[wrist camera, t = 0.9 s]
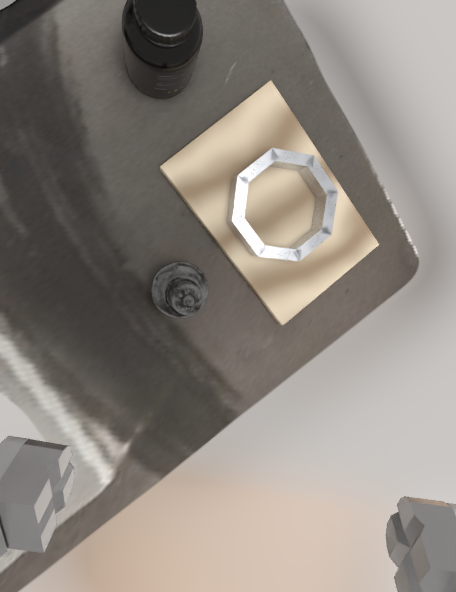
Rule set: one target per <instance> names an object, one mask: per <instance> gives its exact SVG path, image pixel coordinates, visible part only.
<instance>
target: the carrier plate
mask: <svg viewBox="0 0 456 592" xmlns="http://www.w3.org/2000/svg"><path fill="white" fill-rule="evenodd" d="M271 148H276V149H282V150H287V151H293V152H299V153H304V154H310V155H314V156H315V157H316V159H317V160H318V162H319V163H320V165H321V166H322V168H323V169H324V171H325V173H326V174H327V176H328V177H329V179H330V180H331V182H332V183H333V185H334V186H335V188H336V189H337V191H338V195H337V202H336V209H335V216H334V223H333V230H332V235H331V236H330V237H328V238H327V239H326V240H325V241H324V242H322V243H321V244H320V245H319V246H318V247H316V248H315V249H314V250H313V251H311V252H310V253H309V254H308V255H307V256H305V257H304V258H303V259H302V260H301V261H292V260H284V259H276V258H267V257H257V256H251V255H250V253H249V252H248V251H247V249H246V248H245V247H244V245H243V244H242V243H241V241H240V240H239V239H238V237H237V236H236V235H235V233H234V232H233V231H232V229H231V228H230V227H229V225H228V224H227V223H226V220H227V212H228V203H229V195H230V186H231V179H233V178H234V177H235V176H236V175H238V174H239V173H240V172H241V171H243V170H244V169H245V168H246V167H248V166H249V165H250V164H252V163H253V162H254V161H255V160H257V159H258V158H259V157H260V156H262V155H263V154H264V153H265V152H267V151H268V150H270V149H271ZM160 170H161V172H162V173H163V174H164V175H165V177H166V178H167V179H168V181H169V182H170V183H171V185H172V186H173V187H174V188H175V190H176V191H177V192H178V194H179V195H180V196H181V197H182V199H183V200H184V201H185V203H186V204H187V205H188V207H189V208H190V209H191V210H192V212H193V213H194V214H195V216H196V217H197V218H198V220H199V221H200V222H201V223H202V225H203V226H204V227H205V229H206V230H207V231H208V233H209V234H210V235H211V236H212V238H213V239H214V240H215V242H216V243H217V244H218V245H219V247H220V248H221V249H222V251H223V252H224V253H225V255H226V256H227V257H228V258H229V260H230V261H231V262H232V264H233V265H234V266H235V268H236V269H237V270H238V271H239V273H240V274H241V275H242V277H243V278H244V279H245V280H246V282H247V283H248V284H249V286H250V287H251V288H252V290H253V291H254V292H255V293H256V295H257V296H258V297H259V299H260V300H261V301H262V303H263V304H264V305H265V306H266V308H267V309H268V310H269V312H270V313H271V314H272V316H273V317H274V318H275V319H276V321H277V322H278V323H279V324H281V325H282V326H283V325H284V324H285V323H286V322H288V321H289V320H290V319H291V318H292V317H294V316H295V315H296V314H297V313H298V312H299V311H301V310H302V309H303V308H304V307H305V306H307V305H308V304H309V303H310V302H311V301H313V300H314V299H315V298H316V297H317V296H319V295H320V294H321V293H322V292H323V291H324V290H326V289H327V288H328V287H329V286H330V285H332V284H333V283H334V282H335V281H336V280H338V279H339V278H340V277H341V276H342V275H343V274H345V273H346V272H347V271H348V270H349V269H351V268H352V267H353V266H354V265H355V264H357V263H358V262H359V261H360V260H361V259H362V258H364V257H365V256H366V255H367V254H368V253H370V252H371V251H372V250H373V249H374V248H376V247H377V246H378V245H379V244H378V242H377V241H376V239H375V238H374V236H373V235H372V233H371V231H370V230H369V228H368V227H367V225H366V224H365V222H364V221H363V219H362V218H361V216H360V215H359V213H358V212H357V210H356V209H355V207H354V206H353V204H352V203H351V201H350V200H349V198H348V197H347V195H346V193H345V192H344V190H343V189H342V187H341V186H340V184H339V183H338V181H337V180H336V178H335V177H334V175H333V174H332V172H331V171H330V169H329V168H328V166H327V165H326V163H325V162H324V160H323V158H322V157H321V155H320V154H319V152H318V151H317V149H316V148H315V146H314V145H313V143H312V142H311V140H310V139H309V137H308V136H307V134H306V133H305V131H304V130H303V128H302V127H301V125H300V124H299V122H298V120H297V119H296V117H295V116H294V114H293V113H292V111H291V110H290V108H289V107H288V105H287V104H286V102H285V101H284V99H283V98H282V96H281V95H280V93H279V92H278V90H277V89H276V87H275V86H274V84H273V82H272V81H269V82H268V83H267V84H265V85H264V86H263V87H262V88H260V89H259V90H258V91H256V92H255V93H254V94H253V95H251V96H250V97H249V98H247V99H246V100H245V101H244V102H242V103H241V104H240V105H238V106H237V107H236V108H235V109H233V110H232V111H231V112H229V113H228V114H227V115H226V116H224V117H223V118H222V119H220V120H219V121H218V122H217V123H215V124H214V125H213V126H211V127H210V128H209V129H208V130H206V131H205V132H204V133H202V134H201V135H200V136H199V137H197V138H196V139H195V140H193V141H192V142H191V143H190V144H188V145H187V146H186V147H184V148H183V149H182V150H181V151H179V152H178V153H177V154H176V155H174V156H173V157H172V158H170V159H169V160H168V161H167V162H165V163H164V164H163V165H161V166H160ZM314 203H315V196H314V195H313V193H312V192H311V190H310V189H309V187H308V186H307V184H306V183H305V182H304V180H303V179H302V177H301V176H300V174H299V173H298V171H294V170H288V169H282V168H276V167H270V166H268V167H267V168H266V169H264V170H263V171H262V172H261V173H259V174H258V175H257V176H256V177H254V178H253V179H252V180H251V181H249V182H248V191H247V199H246V207H245V216H244V218H245V220H246V221H247V222H248V224H249V225H250V226H251V228H252V229H253V230H254V232H255V233H256V234H257V236H258V237H259V239H260V240H261V241H262V243H263V244H264V245H265V246H273V247H281V248H289V247H290V246H291V245H292V244H294V243H295V242H296V241H297V240H298V239H300V238H301V237H302V236H303V235H305V234H306V233H307V232H308V231H309V230H311V225H312V218H313V210H314Z"/></svg>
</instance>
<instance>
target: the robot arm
mask: <svg viewBox="0 0 456 592" xmlns="http://www.w3.org/2000/svg"><path fill="white" fill-rule="evenodd" d="M14 1H16V0H0V10H1V9H3V8H5V7H7V6H9V5H10V4H12V3H13V2H14ZM71 457H72V449H71V446H67V445H61V444H55V443H49V442H43V441H37V440H31V439H26V438H20V437H13V436H8V437H7V438H6V439H4V440H3V441H2V442H1V443H0V557H1V556H2V555H3V554H4V553H5V552H7V548H10V549H18V550H26V551H34V552H41V553H44V552H45V549H46V547H47V545H48V543H49V541H50V539H51V536H52V534H53V532H54V530H55V528H56V526H57V521H56V515H55V514H56V513H57V512H59V511H60V510H61V509H63V508H64V507H65V506H66V503H67V501H68V499H69V497H70V494H71V490H72V487H73V483H74V474H75V473H74V467H73V466H72V464H71V463H70V462H69V461H70V459H71ZM397 507H398V511H399V512H397V513H395V514H393V515H392V516H391V517H390V519H389V521H388V523H387V529H386V542H387V549H388V553H389V557H390V558H391V560H392V561H393V562H394V563H395V565H396V566H397V567H398V570H397V572H396V574H395V576H394V579H395V583H396V587H397V591H398V592H456V504H451V503H445V502H442V501H435V500H427V499H420V498H412V497H402V498H401V499H400V500H399V502H398V504H397Z"/></svg>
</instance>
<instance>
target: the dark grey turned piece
mask: <svg viewBox="0 0 456 592" xmlns="http://www.w3.org/2000/svg"><path fill="white" fill-rule="evenodd" d="M151 294H152V298H153V301H154V303H155V305H156V307H157V308H158V309H159V310H160V311H161V312H162V313H164V314H166V315H167V316H169V317H173V318H186V317H190V316H192V315H194V314H195V313H197V312H198V311H199V310H200V309H201V308H202V307H203V305H204V304H205V302H206V299H207V296H208V284H207V280H206V278H205V276H204V274H203V273H202V272H201V271H200V270H199V269H198V268H197V267H195V266H194V265H192V264H189V263H186V262H175V263H171V264H168V265H166V266H165V267H163V268H162V269H161V270H160V271H159V272H158V273H157V274H156V276H155V277H154V279H153V283H152V286H151Z"/></svg>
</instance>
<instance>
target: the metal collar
mask: <svg viewBox="0 0 456 592" xmlns="http://www.w3.org/2000/svg"><path fill="white" fill-rule="evenodd" d="M268 166H270V167H276V168H282V169H288V170H294V171H298V173H299V174H300V176H301V177H302V179H303V180H304V182H305V183H306V184H307V186H308V187H309V189H310V190H311V192H312V193H313V195H314V196H315V203H314V210H313V218H312V225H311V230H309V231H308V232H307V233H306V234H305V235H303V236H302V237H301V238H300V239H298V240H297V241H296V242H295V243H294V244H292V245H291V246H290V247H289V248H281V247H273V246H265V245H264V244H263V243H262V241H261V240H260V239H259V237H258V236H257V234H256V233H255V232H254V230H253V229H252V228H251V226H250V225H249V224H248V222H247V221H246V220H245V218H244V216H245V207H246V199H247V191H248V182H249V181H251V180H252V179H253V178H254V177H256V176H257V175H258V174H259V173H261V172H262V171H263V170H264V169H266V168H267V167H268ZM337 195H338V191H337V189H336V188H335V186H334V185H333V183H332V182H331V180H330V179H329V177H328V176H327V174H326V173H325V171H324V169H323V168H322V166H321V165H320V163H319V162H318V160H317V159H316V157H315V156H314V155H310V154H304V153H299V152H293V151H287V150H282V149H276V148H271V149H270V150H268V151H267V152H265V153H264V154H263V155H262V156H260V157H259V158H258V159H257V160H255V161H254V162H253V163H252V164H250V165H249V166H248V167H246V168H245V169H244V170H243V171H241V172H240V173H239V174H238V175H236V176H235V177H234V178H233V179H231V186H230V195H229V203H228V212H227V220H226V223H227V224H228V225H229V227H230V228H231V229H232V231H233V232H234V233H235V235H236V236H237V237H238V239H239V240H240V241H241V243H242V244H243V245H244V247H245V248H246V249H247V251H248V252H249V253H250V255H251V256H257V257H267V258H276V259H284V260H292V261H301V260H302V259H303V258H304V257H305V256H307V255H308V254H309V253H310V252H311V251H313V250H314V249H315V248H316V247H318V246H319V245H320V244H321V243H322V242H324V241H325V240H326V239H327V238H328V237H330V236H331V235H332V230H333V223H334V216H335V209H336V202H337Z"/></svg>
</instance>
